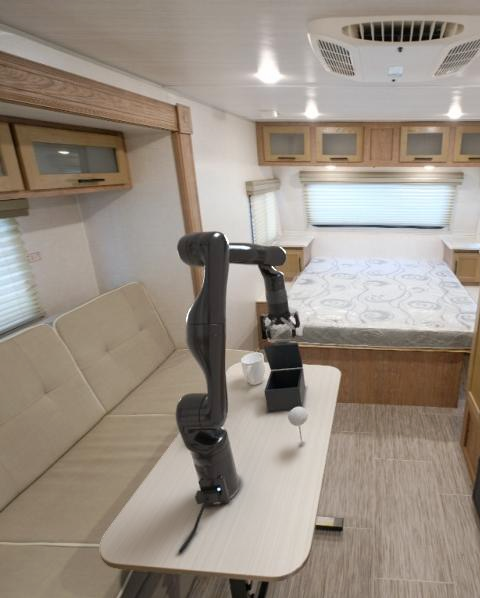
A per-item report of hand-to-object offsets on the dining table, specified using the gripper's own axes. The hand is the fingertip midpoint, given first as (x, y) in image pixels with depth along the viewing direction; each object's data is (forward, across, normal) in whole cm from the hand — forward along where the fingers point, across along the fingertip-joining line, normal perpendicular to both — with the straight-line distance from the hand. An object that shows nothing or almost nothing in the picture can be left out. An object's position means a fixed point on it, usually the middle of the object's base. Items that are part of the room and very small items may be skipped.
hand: (282, 337), depth 133 cm
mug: (+25, -15, +7) cm, 30 cm away
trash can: (+24, 0, -6) cm, 25 cm away
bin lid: (+7, 0, -2) cm, 8 cm away
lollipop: (+25, +8, -31) cm, 41 cm away
